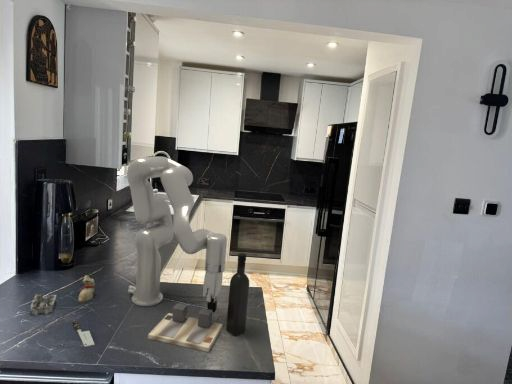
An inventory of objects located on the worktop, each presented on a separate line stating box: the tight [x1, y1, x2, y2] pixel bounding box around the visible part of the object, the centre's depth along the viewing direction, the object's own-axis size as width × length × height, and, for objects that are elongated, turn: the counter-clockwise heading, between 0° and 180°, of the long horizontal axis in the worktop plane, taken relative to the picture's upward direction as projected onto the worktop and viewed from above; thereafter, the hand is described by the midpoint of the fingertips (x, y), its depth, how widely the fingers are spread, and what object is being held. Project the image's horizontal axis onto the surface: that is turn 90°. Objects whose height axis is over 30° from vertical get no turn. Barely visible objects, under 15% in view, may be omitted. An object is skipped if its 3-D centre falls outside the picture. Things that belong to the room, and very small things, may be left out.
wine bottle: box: [225, 252, 250, 337], centre depth 122 cm, size 6×6×30 cm
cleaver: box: [72, 319, 95, 348], centre depth 116 cm, size 17×1×5 cm
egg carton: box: [30, 293, 57, 316], centre depth 128 cm, size 11×8×4 cm
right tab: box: [197, 307, 213, 328], centre depth 123 cm, size 4×4×5 cm
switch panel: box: [147, 312, 223, 353], centre depth 121 cm, size 22×15×2 cm
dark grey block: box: [172, 302, 188, 322], centre depth 125 cm, size 4×4×5 cm
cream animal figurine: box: [78, 275, 96, 303], centre depth 137 cm, size 6×8×10 cm
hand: (211, 310), depth 130 cm, fingers closed
